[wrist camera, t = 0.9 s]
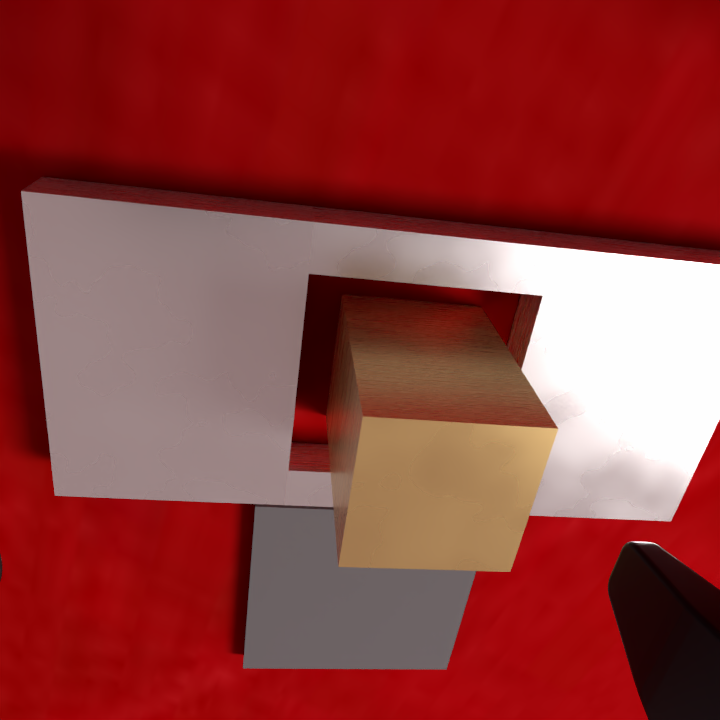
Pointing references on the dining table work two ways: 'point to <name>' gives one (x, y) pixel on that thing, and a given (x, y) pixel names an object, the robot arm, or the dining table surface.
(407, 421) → the brass block
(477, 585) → the dining table surface
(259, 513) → the pad
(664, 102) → the dining table surface
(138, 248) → the rail
